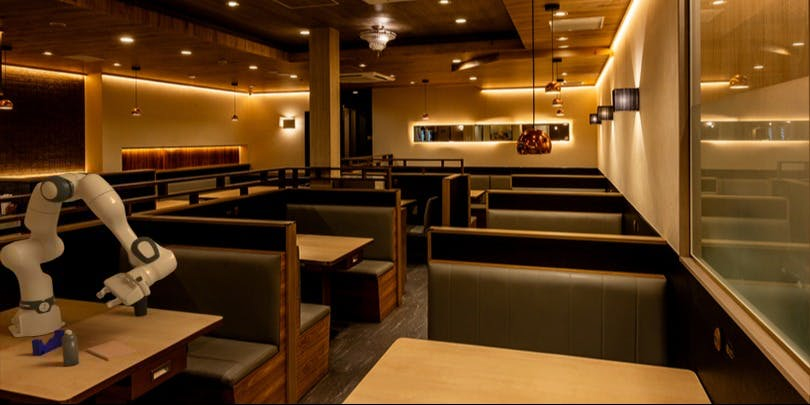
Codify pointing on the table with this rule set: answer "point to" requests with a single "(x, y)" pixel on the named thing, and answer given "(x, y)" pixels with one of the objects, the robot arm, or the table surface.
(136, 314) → the drinking cup
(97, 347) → the board
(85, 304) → the table surface
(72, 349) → the charger plug
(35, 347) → the blue u-shaped bracket
